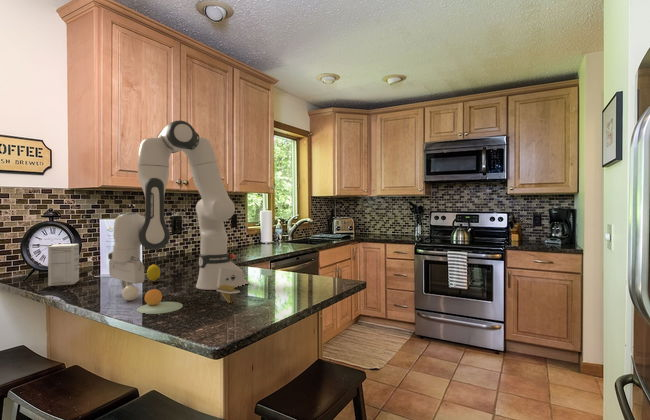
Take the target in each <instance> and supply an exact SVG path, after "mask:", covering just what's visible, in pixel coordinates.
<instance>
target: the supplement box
mask: <svg viewBox="0 0 650 420" xmlns="http://www.w3.org/2000/svg"><path fill="white" fill-rule="evenodd" d="M47 252H48V253H47V254H48V255H47V256H48V258H47V270H48V275H47V278H48V279H47V285H48V287H52V286H54V287H55V286H69V285H75V284H76V283H77V282H79V281H80V244H79V243H58V244H52V245H48V246H47Z"/></svg>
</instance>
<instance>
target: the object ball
mask: <svg viewBox="0 0 650 420" xmlns="http://www.w3.org/2000/svg"><path fill="white" fill-rule="evenodd" d="M162 299H163V293H162V292H161V291H160V290H159V289H156V288H153V289H149V290H148V291H147V292H146V293H145V294H144V302H145V304H148V305H157V304H158V303H160V302H162Z"/></svg>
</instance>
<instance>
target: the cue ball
mask: <svg viewBox="0 0 650 420" xmlns="http://www.w3.org/2000/svg"><path fill="white" fill-rule="evenodd" d="M139 295H140V290H139V287H137V286H136V285H135V284H132V285H129V286H126V287H125V288H124V289H123V291H122V290H121V297H122V299H124V300H126V301H127V302H128V301H129V302H130V301H134V300H136V299H137V298H138V296H139Z"/></svg>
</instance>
